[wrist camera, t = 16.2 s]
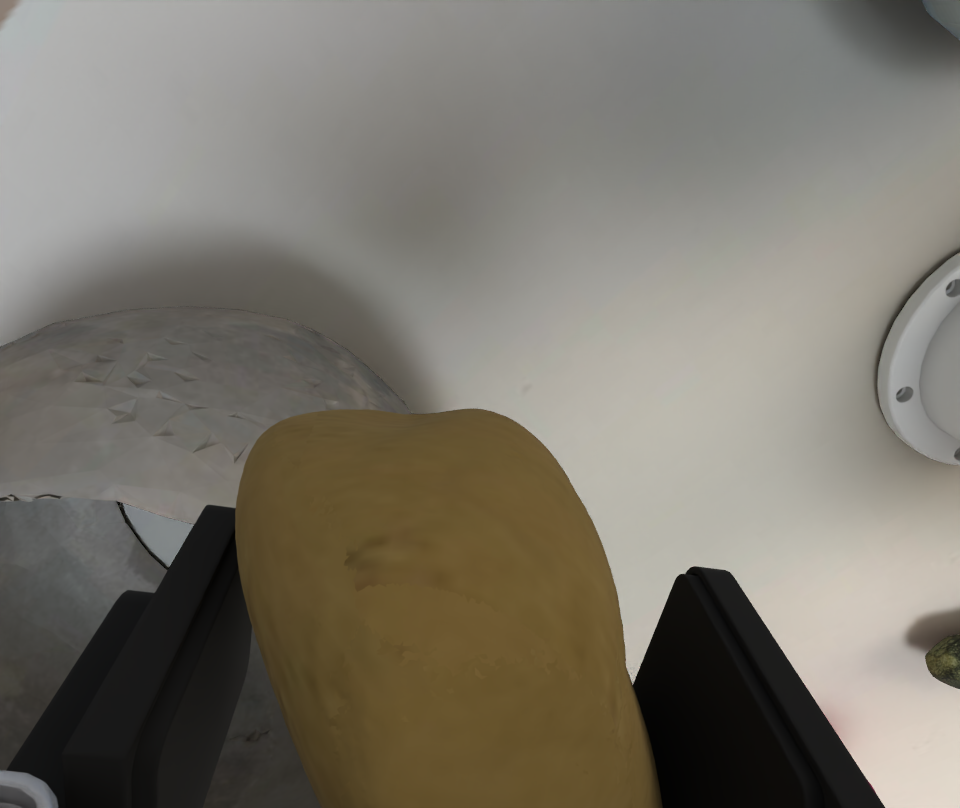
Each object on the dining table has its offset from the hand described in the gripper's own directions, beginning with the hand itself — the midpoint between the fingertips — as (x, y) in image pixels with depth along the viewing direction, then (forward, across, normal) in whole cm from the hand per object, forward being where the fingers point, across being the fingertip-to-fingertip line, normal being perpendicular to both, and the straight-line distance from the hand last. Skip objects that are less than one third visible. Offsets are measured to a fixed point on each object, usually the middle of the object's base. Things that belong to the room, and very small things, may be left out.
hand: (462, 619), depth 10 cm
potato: (+3, 0, 0) cm, 3 cm away
